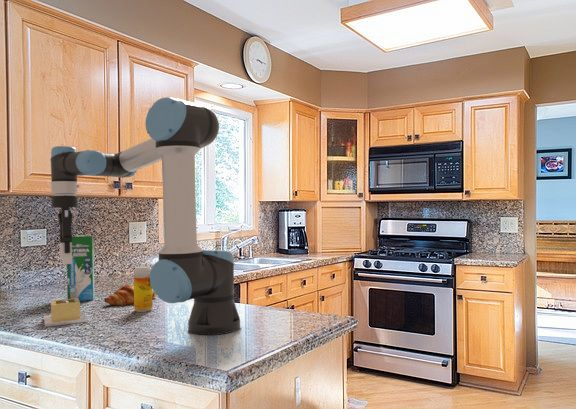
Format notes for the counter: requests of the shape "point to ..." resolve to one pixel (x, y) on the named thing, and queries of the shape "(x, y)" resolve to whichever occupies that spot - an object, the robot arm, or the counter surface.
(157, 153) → the robot arm
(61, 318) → the yellow hollow block
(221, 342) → the counter surface
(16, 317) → the counter surface
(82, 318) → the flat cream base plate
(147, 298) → the yellow bottle
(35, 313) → the counter surface
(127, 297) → the croissant
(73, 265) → the milk carton
